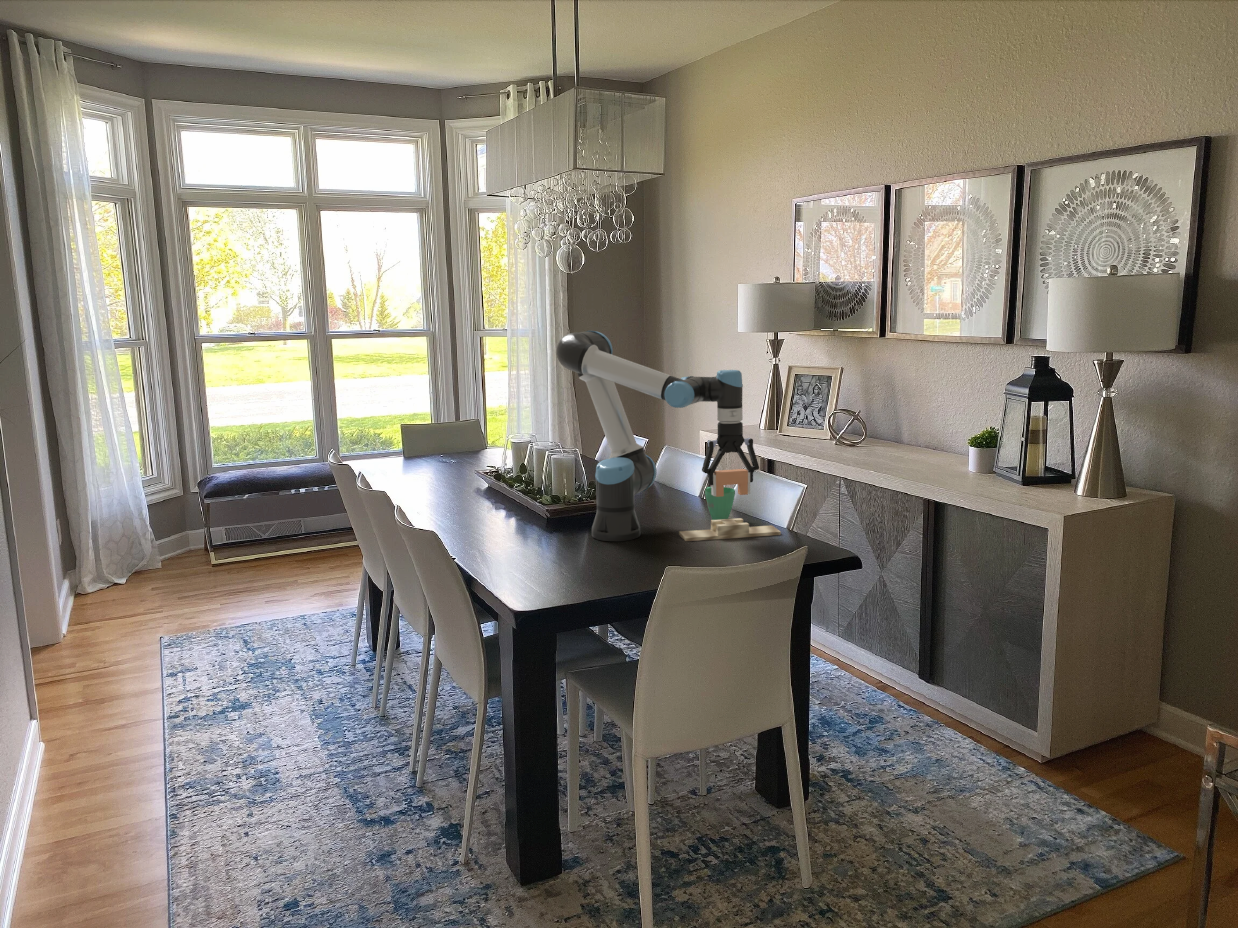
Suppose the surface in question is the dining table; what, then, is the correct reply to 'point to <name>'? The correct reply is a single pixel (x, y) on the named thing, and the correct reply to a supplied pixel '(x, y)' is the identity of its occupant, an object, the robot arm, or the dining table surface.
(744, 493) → the clip
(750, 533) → the rail
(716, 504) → the green tapered cup
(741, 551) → the dining table surface
